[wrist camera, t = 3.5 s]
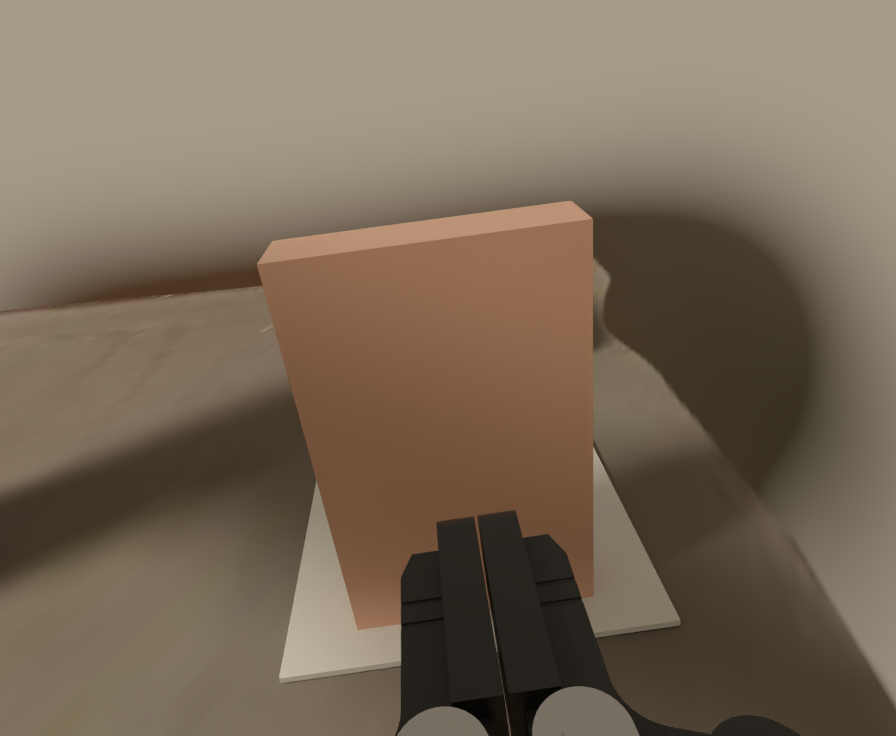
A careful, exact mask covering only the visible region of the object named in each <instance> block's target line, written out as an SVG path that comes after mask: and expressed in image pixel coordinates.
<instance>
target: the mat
mask: <svg viewBox="0 0 896 736" xmlns="http://www.w3.org/2000/svg"><path fill="white" fill-rule="evenodd" d="M593 537H594V596H592V597H585V598H582V602H583V603H584V606H585V609H586V612H587V615H588V617H589V620H590V623H591V626H592V629H593V632H594V635H595V638H597V637H604V636H611V635H618V634H625V633H632V632H639V631H646V630H652V629H659V628H666V627H673V626H680V622H681V620H680V618H679V616H678V614H677V612H676V610H675V608H674V606H673V604H672V602H671V600H670V598H669V596H668V594H667V592H666V590H665V588H664V586H663V584H662V582H661V580H660V578H659V576H658V574H657V572H656V570H655V568H654V566H653V564H652V562H651V560H650V558H649V556H648V554H647V552H646V550H645V548H644V546H643V545H642V543H641V541H640V539H639V537H638V535H637V533H636V531H635V529H634V527H633V525H632V523H631V521H630V519H629V517H628V515H627V513H626V511H625V509H624V507H623V505H622V503H621V501H620V499H619V497H618V495H617V493H616V491H615V489H614V487H613V485H612V483H611V481H610V479H609V477H608V475H607V473H606V471H605V469H604V467H603V465H602V463H601V461H600V459H599V457H598V455H597V453H596V451H595V449H594V447H593ZM490 615H491V611H490ZM491 621H492V616H491ZM492 627H493V622H492ZM493 633H494V628H493ZM494 639H495V634H494ZM495 645H496V640H495ZM496 651H497V646H496ZM397 666H401V624H397V625H391V626H384V627H377V628H370V629H363V630H358V629H357V625H356V622H355V618H354V614H353V611H352V607H351V604H350V600H349V596H348V593H347V589H346V585H345V582H344V578H343V575H342V571H341V567H340V564H339V560H338V556H337V553H336V549H335V546H334V542H333V538H332V535H331V531H330V527H329V524H328V520H327V517H326V513H325V509H324V506H323V502H322V498H321V495H320V491H319V488H318V484H317V480H316V485H315V490H314V496H313V501H312V506H311V512H310V517H309V522H308V528H307V533H306V538H305V543H304V549H303V554H302V559H301V565H300V570H299V575H298V581H297V586H296V591H295V596H294V602H293V607H292V612H291V618H290V623H289V628H288V634H287V639H286V644H285V649H284V655H283V660H282V665H281V671H280V676H279V680H280V682H281V683H287V682H294V681H301V680H308V679H315V678H321V677H328V676H335V675H342V674H349V673H356V672H363V671H370V670H377V669H383V668H390V667H397Z"/></svg>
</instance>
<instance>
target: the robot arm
mask: <svg viewBox="0 0 896 736" xmlns="http://www.w3.org/2000/svg"><path fill="white" fill-rule="evenodd" d="M477 518H478V526H479V533H480V541H481V548H482V556H483V563H484V571H485V578H486V585H487V591H488V597H487V591H486V585H485V579H484V573H483V567H482V561H481V555H480V549H479V543H478V537H477V531H476V525H475V519H474V516H471V517H465V518H458V519H451V520H444V521H438V522H436V527H437V539H438V551H431V552H425V553H418V554H412V555H411V557H410V559H409V561H408V564H407V566H406V568H405V570H404V572H403V574H402V576H401V717H400V722H399V727H398V730H397V732H396V735H395V736H509V731H508V723H507V716H506V708H505V700H506V706H507V712H508V717H509V723H510V729H511V735H512V736H800V735H799V734H797V733H796V732H794V731H793V730H791V729H789V728H788V727H786V726H784V725H782V724H780V723H778V722H775V721H773V720H771V719H767V718H763V717H759V716H751V715H746V716H737V717H732V718H730V719H727V720H725V721H723V722H722V723H721V724H719V725H718V726H717V727H716V728H715V729H714V730H713V732H712V734H706V733H700V732H695V731H689V730H684V729H679V728H673V727H668V726H664V725H661V724H658V723H655V722H653V721H650V720H648V719H646V718H645V717H643V716H641V715H639V714H638V713H637V712H635V711H634V710H632V709H631V708H630V707H629V706H628V705H627V704H626V703H625V702H624V701H623V700H622V699H621V697H620V696H619V695H618V694H617V692H616V690H615V689H614V687H613V685H612V683H611V681H610V678H609V676H608V673H607V670H606V667H605V664H604V661H603V658H602V655H601V652H600V649H599V647H598V644H597V641H596V638H595V635H594V632H593V629H592V626H591V623H590V620H589V617H588V615H587V612H586V609H585V606H584V603H583V602H582V598H581V594H580V591H579V588H578V585H577V582H575V577H574V574H573V571H572V568H571V565H570V562H569V559H568V556H567V553H566V552H565V551H564V550H563V549H562V548H561V547H560V546H559V545H558V544H557V543H556V542H555V541H554V540H553V539H552V538H551V536H550V535H549V534H544V535H538V536H531V537H524V538H523V537H522V533H521V529H520V525H519V521H518V517H517V514H516V511H515V510H511V511H504V512H497V513H490V514H484V515H477ZM488 598H489V603H488ZM489 604H490V609H489ZM490 610H491V615H490ZM491 616H492V621H491ZM492 622H493V627H492ZM493 628H494V633H493ZM494 634H495V639H494ZM495 640H496V645H495ZM496 646H497V651H496ZM497 652H498V657H497ZM498 658H499V663H498ZM499 664H500V669H499ZM500 670H501V675H500ZM501 676H502V681H501ZM502 682H503V687H502ZM503 688H504V693H503ZM504 694H505V700H504Z"/></svg>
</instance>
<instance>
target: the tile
mask: <svg viewBox="0 0 896 736" xmlns="http://www.w3.org/2000/svg"><path fill="white" fill-rule="evenodd" d="M257 266H258V270H259V274H260V277H261V281H262V284H263V288H264V292H265V295H266V299H267V303H268V306H269V310H270V313H271V317H272V321H273V324H274V328H275V332H276V335H277V339H278V342H279V346H280V350H281V353H282V357H283V361H284V364H285V368H286V371H287V375H288V379H289V382H290V386H291V390H292V393H293V397H294V400H295V404H296V408H297V411H298V415H299V419H300V422H301V426H302V430H303V433H304V437H305V440H306V444H307V448H308V451H309V455H310V459H311V462H312V466H313V469H314V473H315V477H316V480H317V484H318V488H319V491H320V495H321V498H322V502H323V506H324V509H325V513H326V517H327V520H328V524H329V527H330V531H331V535H332V538H333V542H334V546H335V549H336V553H337V556H338V560H339V564H340V567H341V571H342V575H343V578H344V582H345V585H346V589H347V593H348V596H349V600H350V604H351V607H352V611H353V614H354V618H355V622H356V625H357V629H358V630H363V629H370V628H377V627H384V626H391V625H397V624H401V576H402V574H403V572H404V570H405V568H406V566H407V564H408V561H409V559H410V557H411V555H412V554H418V553H425V552H431V551H438V539H437V527H436V522H438V521H444V520H451V519H458V518H465V517H471V516H474V519H475V525H476V531H477V537H478V543H479V549H480V555H481V561H482V567H483V573H484V579H485V585H486V578H485V571H484V563H483V556H482V548H481V541H480V533H479V526H478V518H477V515H484V514H490V513H497V512H504V511H511V510H515V511H516V514H517V517H518V521H519V525H520V529H521V533H522V537H523V538H524V537H531V536H538V535H544V534H549V535H550V536H551V538H552V539H553V540H554V541H555V542H556V543H557V544H558V545H559V546H560V547H561V548H562V549H563V550H564V551H565V552H566V553H567V556H568V559H569V562H570V565H571V568H572V571H573V574H574V577H575V582H577V585H578V588H579V591H580V594H581V598H585V597H592V596H594V537H593V219H592V218H591V217H590V216H589V215H588V214H586V213H585V212H584V211H583V210H582V209H580V208H579V207H578V206H577V205H576V204H574V203H573V202H572V201H566V202H558V203H550V204H543V205H536V206H528V207H521V208H513V209H506V210H500V211H491V212H484V213H477V214H469V215H462V216H454V217H447V218H439V219H432V220H425V221H418V222H410V223H402V224H395V225H388V226H381V227H373V228H365V229H358V230H351V231H343V232H336V233H328V234H322V235H314V236H306V237H299V238H291V239H284V240H276V241H272V243H271V244H270V246H269V247H268V249H267V250H266V252H265V253H264V255H263V256H262V258H261V259H260V261H259V262H258V264H257ZM486 591H487V585H486ZM487 597H488V591H487ZM488 603H489V598H488ZM489 609H490V604H489ZM490 611H491V610H490Z"/></svg>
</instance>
